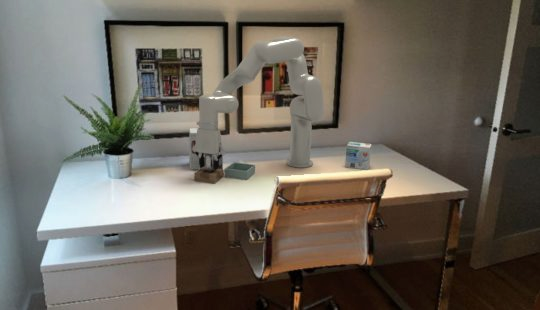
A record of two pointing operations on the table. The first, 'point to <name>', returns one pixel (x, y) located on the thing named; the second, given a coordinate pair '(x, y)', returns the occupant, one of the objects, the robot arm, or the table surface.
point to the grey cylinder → (219, 162)
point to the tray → (240, 170)
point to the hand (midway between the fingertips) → (209, 167)
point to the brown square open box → (208, 175)
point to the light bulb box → (358, 155)
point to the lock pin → (209, 163)
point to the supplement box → (192, 156)
